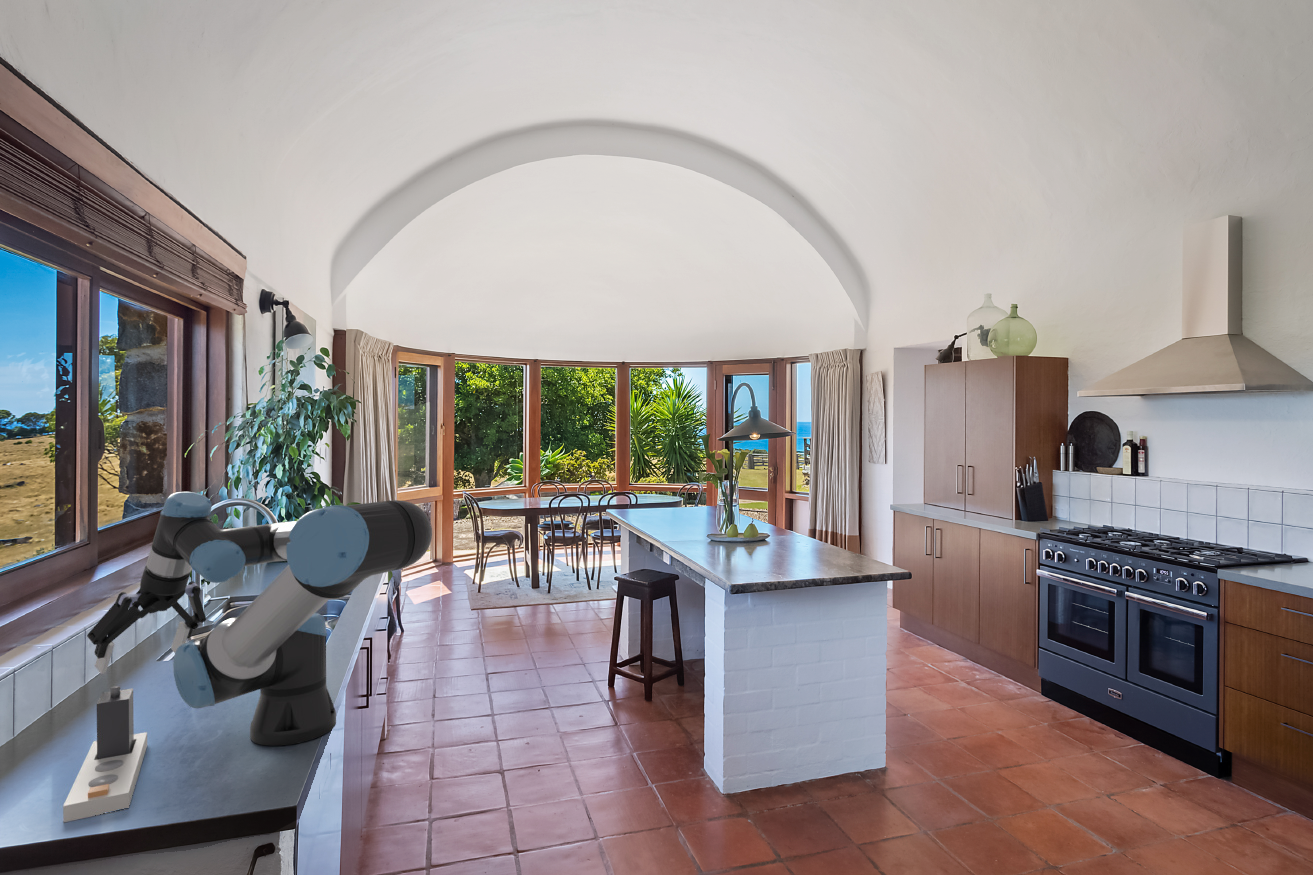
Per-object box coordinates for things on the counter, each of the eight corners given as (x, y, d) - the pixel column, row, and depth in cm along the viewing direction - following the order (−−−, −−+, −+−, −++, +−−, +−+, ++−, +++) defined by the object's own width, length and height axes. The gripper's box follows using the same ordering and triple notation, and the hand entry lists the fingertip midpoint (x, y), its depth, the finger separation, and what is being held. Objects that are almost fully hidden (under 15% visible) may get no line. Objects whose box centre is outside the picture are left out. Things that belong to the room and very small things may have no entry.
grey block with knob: (103, 753, 130) (102, 684, 129) (133, 748, 132) (133, 679, 132) (97, 767, 124) (96, 695, 124) (129, 761, 127) (128, 690, 126)
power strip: (93, 754, 131) (93, 736, 131) (147, 745, 135) (147, 727, 135) (63, 822, 109) (63, 800, 109) (128, 808, 113) (128, 787, 113)
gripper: (223, 550, 151) (195, 635, 155) (83, 567, 129) (55, 665, 133) (242, 569, 148) (213, 655, 152) (103, 589, 126) (73, 689, 130)
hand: (139, 660), depth 143 cm, fingers open, 13 cm apart
